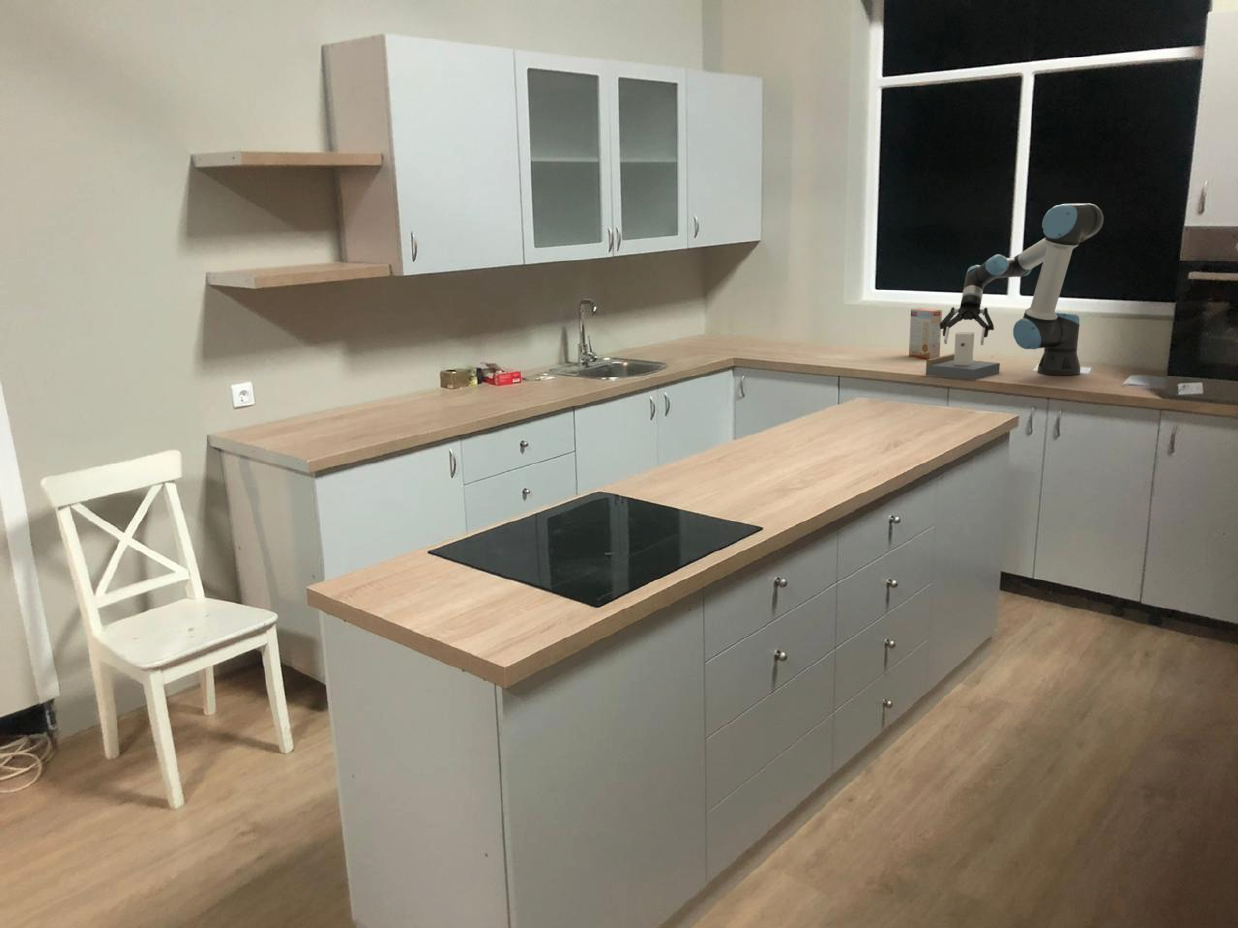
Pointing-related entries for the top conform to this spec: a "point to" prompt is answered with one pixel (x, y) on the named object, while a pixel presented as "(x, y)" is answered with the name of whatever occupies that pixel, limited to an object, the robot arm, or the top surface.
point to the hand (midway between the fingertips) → (963, 342)
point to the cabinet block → (964, 348)
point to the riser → (960, 368)
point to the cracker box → (925, 333)
